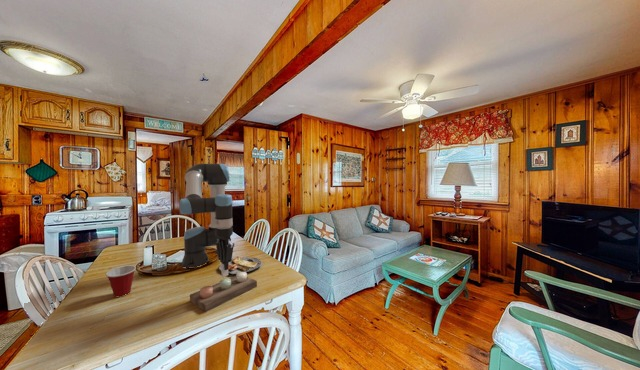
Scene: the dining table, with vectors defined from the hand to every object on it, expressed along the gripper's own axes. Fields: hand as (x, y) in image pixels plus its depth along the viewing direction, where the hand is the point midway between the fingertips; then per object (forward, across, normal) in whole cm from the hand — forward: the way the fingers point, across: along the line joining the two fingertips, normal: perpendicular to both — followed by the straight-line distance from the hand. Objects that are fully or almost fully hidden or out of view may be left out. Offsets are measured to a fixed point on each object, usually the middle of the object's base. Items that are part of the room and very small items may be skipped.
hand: (225, 275), depth 106 cm
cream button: (+6, 0, +9) cm, 10 cm away
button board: (+9, 0, 0) cm, 9 cm away
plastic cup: (+9, -40, -29) cm, 50 cm away
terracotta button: (+5, 0, -9) cm, 11 cm away
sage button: (+5, 0, 0) cm, 5 cm away
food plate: (+10, -20, +23) cm, 32 cm away
